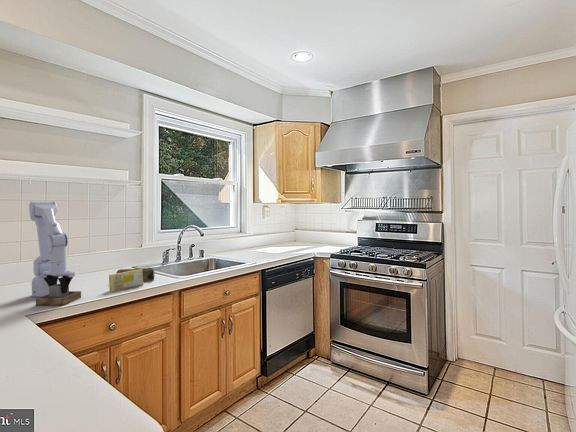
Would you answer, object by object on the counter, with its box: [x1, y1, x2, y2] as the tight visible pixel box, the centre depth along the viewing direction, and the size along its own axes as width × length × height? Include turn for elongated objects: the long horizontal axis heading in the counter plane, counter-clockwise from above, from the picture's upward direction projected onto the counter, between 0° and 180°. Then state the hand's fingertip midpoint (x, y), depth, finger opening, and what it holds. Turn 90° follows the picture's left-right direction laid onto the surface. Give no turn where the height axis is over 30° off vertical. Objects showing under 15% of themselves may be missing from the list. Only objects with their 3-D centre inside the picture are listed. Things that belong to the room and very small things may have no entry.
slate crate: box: [49, 283, 70, 298], centre depth 142 cm, size 5×5×5 cm
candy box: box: [108, 268, 144, 292], centre depth 165 cm, size 16×2×8 cm, turn 141°
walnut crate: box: [35, 290, 82, 307], centre depth 142 cm, size 12×12×3 cm
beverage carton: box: [115, 267, 156, 282], centre depth 180 cm, size 8×19×7 cm, turn 110°
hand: (59, 292), depth 142 cm, fingers closed on slate crate, 5 cm apart
